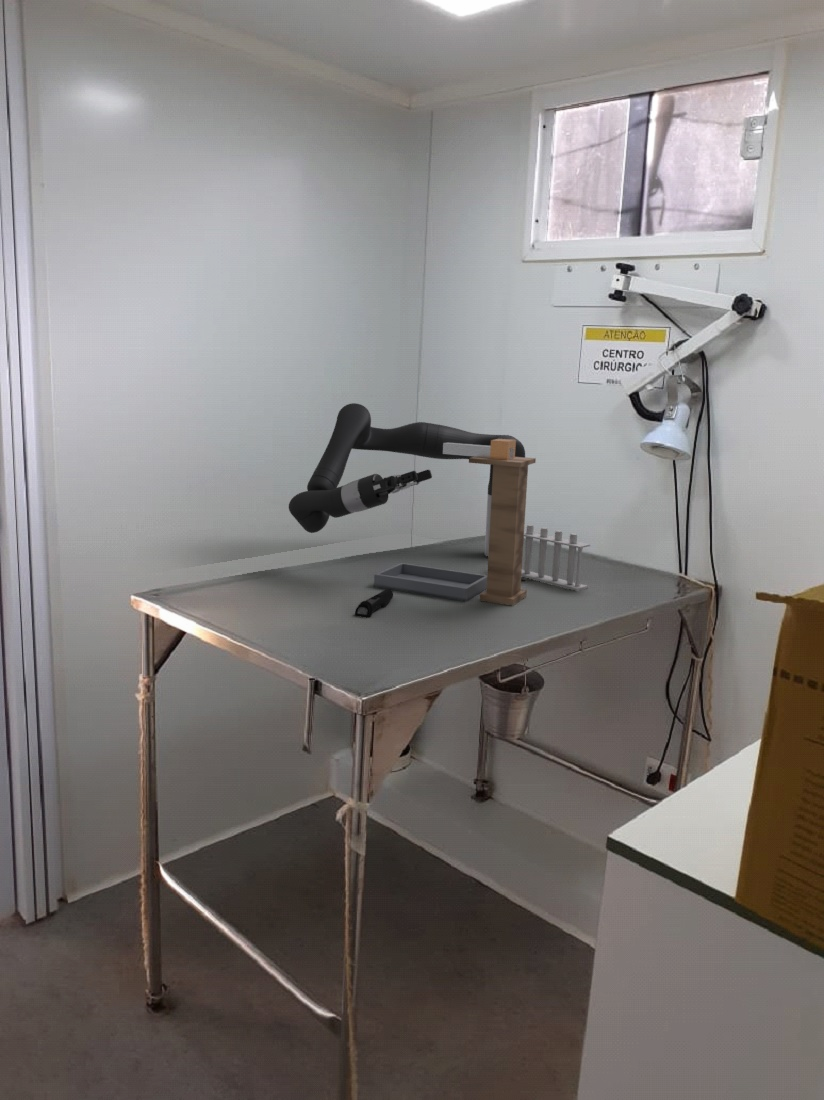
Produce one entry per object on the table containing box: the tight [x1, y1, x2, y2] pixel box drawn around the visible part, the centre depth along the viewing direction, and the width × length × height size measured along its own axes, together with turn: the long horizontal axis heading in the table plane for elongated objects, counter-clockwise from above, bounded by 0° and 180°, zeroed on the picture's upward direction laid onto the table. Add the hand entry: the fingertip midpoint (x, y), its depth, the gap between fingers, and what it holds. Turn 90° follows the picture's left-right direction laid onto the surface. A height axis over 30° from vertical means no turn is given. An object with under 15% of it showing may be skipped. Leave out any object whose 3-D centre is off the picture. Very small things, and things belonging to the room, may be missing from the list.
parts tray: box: [373, 562, 487, 602], centre depth 205 cm, size 14×24×3 cm, turn 64°
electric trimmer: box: [354, 588, 394, 619], centre depth 187 cm, size 4×16×3 cm, turn 159°
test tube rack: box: [521, 524, 591, 592], centre depth 215 cm, size 25×4×13 cm, turn 43°
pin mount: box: [468, 456, 536, 606], centre depth 195 cm, size 10×12×32 cm
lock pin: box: [443, 439, 516, 460], centre depth 194 cm, size 5×16×4 cm, turn 64°
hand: (423, 474), depth 201 cm, fingers open, 8 cm apart
